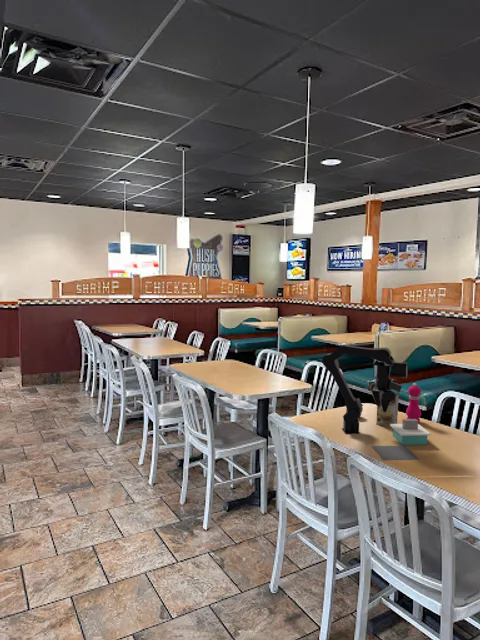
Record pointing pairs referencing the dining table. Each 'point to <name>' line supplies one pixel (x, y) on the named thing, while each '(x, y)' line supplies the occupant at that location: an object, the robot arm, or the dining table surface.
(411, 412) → the pepper mill
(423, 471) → the dining table surface
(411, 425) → the lid
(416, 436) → the dish
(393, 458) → the mat
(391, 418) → the coffee box
